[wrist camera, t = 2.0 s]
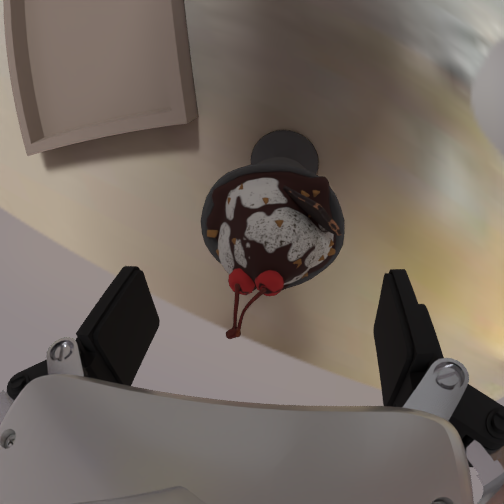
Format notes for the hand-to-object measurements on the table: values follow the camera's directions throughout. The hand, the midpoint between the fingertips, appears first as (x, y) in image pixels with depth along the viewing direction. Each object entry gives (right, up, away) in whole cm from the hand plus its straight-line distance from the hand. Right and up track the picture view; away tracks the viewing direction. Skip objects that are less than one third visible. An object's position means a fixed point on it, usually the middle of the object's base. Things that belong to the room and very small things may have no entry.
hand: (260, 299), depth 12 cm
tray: (-13, +20, +6) cm, 25 cm away
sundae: (+2, +8, +11) cm, 14 cm away
